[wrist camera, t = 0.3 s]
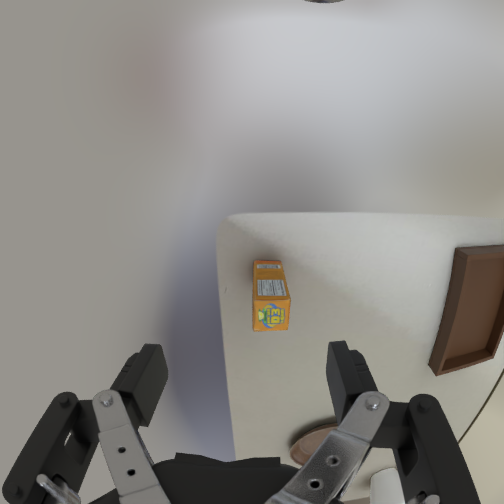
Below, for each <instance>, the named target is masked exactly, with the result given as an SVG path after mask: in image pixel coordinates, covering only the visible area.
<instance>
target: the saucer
mask: <svg viewBox="0 0 504 504" xmlns="http://www.w3.org/2000/svg"><path fill="white" fill-rule="evenodd" d="M337 427H338V425H337V423H332V424H327V425H323V426H320V427H317V428H315V429H312V430H311V431H309V432H307V433H306V434H304V435H303V436H301V437H300V438H299V439H298V440H297V441H296V442H295V443H294V445H293V446H292V448H291V450H290V457H291V459H292V460H293V461H294V462H295V463H297V464H299V465H301V466H303V465H304V464H305V462H306V461H307V460H308V459H309V458H310V456H311V455H312V454H313V453H314V451H315V450H316V449H317V448H318V446H319V445H320V444H321V443H322V441H323V440H324V439H325V437H326V436H327V435H328V433H329V432H330V431H331V430H332V429H337Z"/></svg>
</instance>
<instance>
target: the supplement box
mask: <svg viewBox="0 0 504 504" xmlns="http://www.w3.org/2000/svg"><path fill="white" fill-rule="evenodd" d="M252 298H253V331H254V332H255V331H273V330H288V324H289V313H290V302H291V299H290V295H289V291H288V287H287V283H286V279H285V275H284V271H283V267H282V263H281V261H257V260H255V261H254V265H253V297H252Z"/></svg>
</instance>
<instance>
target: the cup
mask: <svg viewBox="0 0 504 504" xmlns="http://www.w3.org/2000/svg"><path fill="white" fill-rule="evenodd" d="M370 504H405V500H404V496H403V491H402V486H401V482H400V478H399V474H398V472H397V470H396V469H395V468H389V469H385V470H382V471H379V472H377V473H376V474H374V475H373V476H372V477H371V486H370Z"/></svg>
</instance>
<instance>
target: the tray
mask: <svg viewBox="0 0 504 504" xmlns="http://www.w3.org/2000/svg"><path fill="white" fill-rule="evenodd" d="M503 332H504V245H493V246H477V247H461V248H455V255H454V262H453V268H452V274H451V279H450V285H449V290H448V295H447V299H446V304H445V308H444V312H443V316H442V320H441V324H440V328H439V332H438V335H437V339H436V342H435V345H434V349H433V352H432V355H431V358H430V361H429V364H428V365H429V366H430V368H431V369H432V371H433V373H434V374H435V376H439V375H442V374H446V373H449V372H453V371H456V370H460V369H463V368H466V367H469V366H472V365H475V364H478V363H481V362H484V361H487V360H490V359H493V358H494V355H495V353H496V351H497V348H498V345H499V343H500V340H501V338H502V335H503Z"/></svg>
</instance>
